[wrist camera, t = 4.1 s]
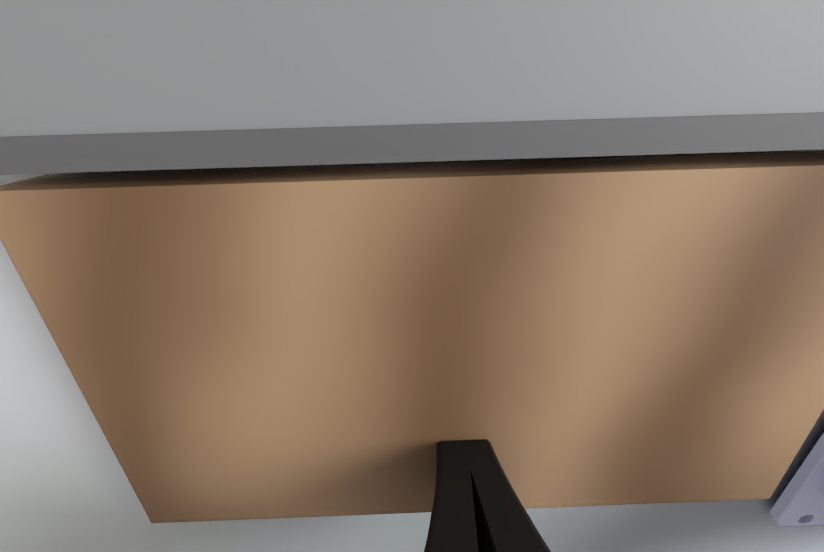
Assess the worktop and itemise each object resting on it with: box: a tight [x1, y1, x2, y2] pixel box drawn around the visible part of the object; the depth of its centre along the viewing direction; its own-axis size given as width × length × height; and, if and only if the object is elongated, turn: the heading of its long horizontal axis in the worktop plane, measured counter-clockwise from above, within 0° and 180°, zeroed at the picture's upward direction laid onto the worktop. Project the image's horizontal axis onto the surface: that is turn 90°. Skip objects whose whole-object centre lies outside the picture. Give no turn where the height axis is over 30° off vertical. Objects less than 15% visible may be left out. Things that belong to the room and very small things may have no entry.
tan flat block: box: [0, 151, 824, 523], centre depth 10 cm, size 18×10×2 cm, turn 91°
